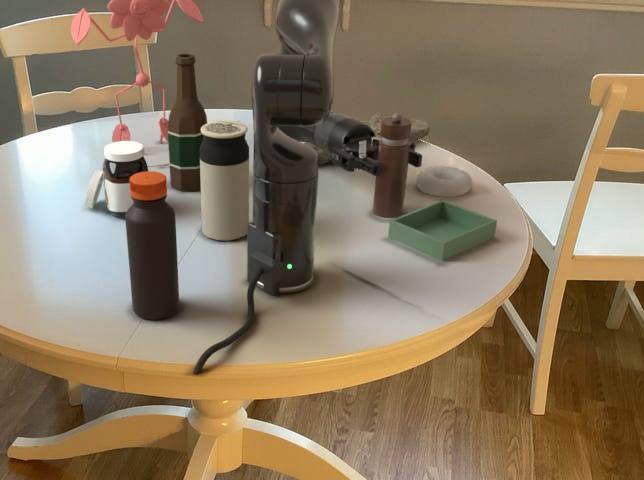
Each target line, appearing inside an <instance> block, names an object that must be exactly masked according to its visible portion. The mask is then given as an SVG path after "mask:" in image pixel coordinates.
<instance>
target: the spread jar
mask: <svg viewBox="0 0 644 480" xmlns="http://www.w3.org/2000/svg"><path fill="white" fill-rule="evenodd" d="M103 151H104V152H103V153H104V159H103V161H102V170H100V169H95V170H94V173H93V175H92V176H91V180H90V182H89V185H88V188H87V191H86V195H85V201H84V206H85V207H86V208H90V209H93V208H95V206H96V203H97V201H98V199H99V196H100V193H101V190H102V187H103V189H104V198H105V204H106V209H107V211H108V213H109V214H110V215H112V216H114V217H117V218H123V219H125V214H126V212H127V210H128V209H129V208H130V206H131V205H132V204H133V200H132V199H131V194H130V182H129V179H130V177H131V176H132V175H134V174H136V173H140V172H147V171H149V167H147V166H148V163H147V161H146V159H145V157H144V154H145V150H144V145H143V144H142V143H140V142H138V141H134V140H130V141H118V142H113V143H112V142H111V143H108V144H106V145H105V146H104V148H103Z"/></svg>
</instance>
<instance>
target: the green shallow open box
mask: <svg viewBox="0 0 644 480" xmlns="http://www.w3.org/2000/svg"><path fill="white" fill-rule="evenodd" d="M497 225H498V220H497V219H495V218H493V217H490V216H487V215H485V214H481V213H479V212H477V211H474V210H471V209H469V208H466V207H463V206H460V205H458V204H456V203H453V202H450V201H448V200H445V199H440V200H437V201H435V202H433V203H430V204H428V205H425V206H422V207H421V208H418V209H414V210H413V211H410V212H408V213H405V214H402V215H401V216H399V217H396V218H391V219H390V220H389V224H388V233H387V238H388V239H390V240H393V241H395V242H398V243H400V244H402V245H403V246H406V247H409V248H411V249H413V250H415V251H418V252H420V253H422V254H424V255H426V256H429V257H432V258H434V259H436V260H437V261H440V262H443V261H445V260H447V259H449V258H452V257H455V256H456V255H458V254H461V253H463V252H465V251H467V250H469V249H472V248H474V247H476V246H479V245H481V244H483V243H486V242H487V241H490V240H492V239H494V238H495V237H496V230H497Z"/></svg>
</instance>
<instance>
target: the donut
mask: <svg viewBox="0 0 644 480" xmlns="http://www.w3.org/2000/svg"><path fill="white" fill-rule="evenodd" d="M415 183H416V186H417V188H418V190H419V191H421V192H422V193H424V194H427V195H429V196H433V197H438V198H440V197H441V198H456V197H461V196H463V195H465V194H467V193H469V191H470V190H471V188H472V185H473V179H472V177H471V176H470V174H469V173H468V172H467V171H465V170H463V169H460V168H458V167H453V166H446V165H437V166H430V167H427V168H424V169H423V170H421V171H420V172H419V173H418V175H417V176H416V180H415Z"/></svg>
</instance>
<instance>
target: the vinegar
mask: <svg viewBox="0 0 644 480" xmlns="http://www.w3.org/2000/svg"><path fill="white" fill-rule="evenodd" d="M129 182H130V194H131V199H132V200H133V204H132V205H131V206H130V208H129V209H128V210H127V212H126V214H125V218H124V219H125V220H124V221H125V231H126V232H125V233H126V243H127V255H128V256H127V257H128V268H129V281H130V293H131V306H132V310H133V313H134V314H135V315H136V316H137V317H140V318H142V319H145V320H151V321H153V320H154V321H158V320H165V319H167V318H171V317H172V316H174V315H175V314H177V312H178V311H179V309H180V288H179V267H178V265H179V263H178V245H177V222H176V211H175V209H174V208H173V207H172V206H171V205H170V204H169V203H168V202H166V199H167V197H168V183H167V176H166V175H165V173H161V172H159V171H152V170H151V171H150V170H148V171H147V172H140V173H136V174H134V175H132V176H131V177H130V179H129Z"/></svg>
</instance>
